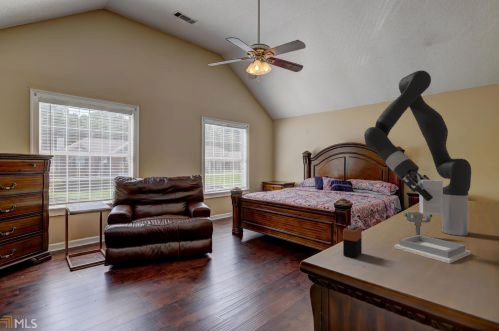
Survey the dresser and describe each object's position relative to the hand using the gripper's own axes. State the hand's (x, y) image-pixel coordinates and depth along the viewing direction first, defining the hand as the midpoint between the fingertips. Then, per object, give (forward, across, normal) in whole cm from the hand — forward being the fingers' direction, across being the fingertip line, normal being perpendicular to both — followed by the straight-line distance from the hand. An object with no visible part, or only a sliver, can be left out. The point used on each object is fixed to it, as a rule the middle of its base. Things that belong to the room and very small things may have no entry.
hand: (435, 198), depth 88 cm
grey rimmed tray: (+12, 0, +14) cm, 19 cm away
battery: (+4, -27, +23) cm, 36 cm away
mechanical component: (+4, +16, +23) cm, 28 cm away
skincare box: (+3, 0, +5) cm, 6 cm away
